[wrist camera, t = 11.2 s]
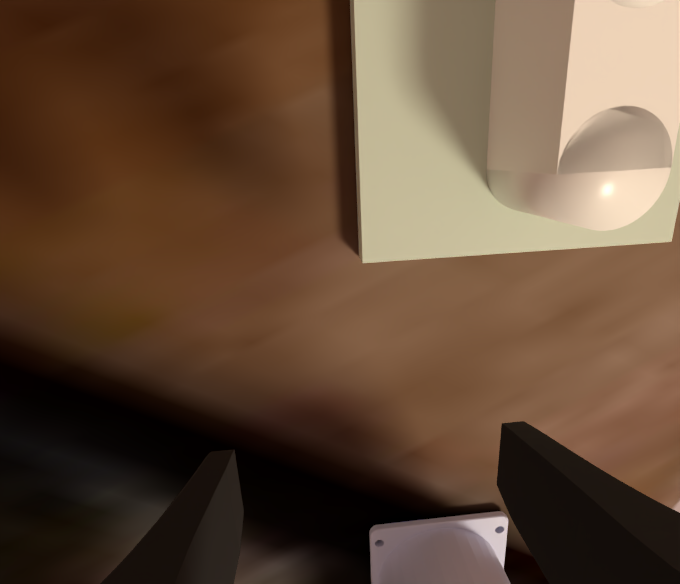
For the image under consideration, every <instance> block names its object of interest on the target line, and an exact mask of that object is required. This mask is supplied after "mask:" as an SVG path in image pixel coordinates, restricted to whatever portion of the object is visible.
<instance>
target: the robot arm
mask: <svg viewBox="0 0 680 584" xmlns="http://www.w3.org/2000/svg"><path fill="white" fill-rule="evenodd" d="M497 486H498V488H499V491H500V493H501V495H502V498H503V500H504V503H505V505H506V507H507V509H508V511H509V514H510V516H511V518H512V520H513V522H514V524H515V526H516V528H517V529H518V531H519V533H520V534H521V536H522V538H523V540H524V541H525V543H526V545H527V546H528V548H529V550H530V552H531V553H532V555H533V557H534V558H535V560H536V562H537V563H538V565H539V567H540V568H541V570H542V572H543V574H544V575H545V577H546V579H547V580H548V582H549V584H680V513H679V512H677V511H675V510H673V509H671V508H669V507H667V506H665V505H663V504H661V503H659V502H657V501H655V500H653V499H651V498H650V497H648V496H646V495H644V494H642V493H641V492H639V491H637V490H635V489H634V488H632V487H630V486H628V485H626V484H625V483H623V482H621V481H619V480H618V479H616V478H614V477H613V476H611V475H609V474H608V473H606V472H604V471H603V470H601V469H599V468H598V467H596V466H594V465H593V464H591V463H589V462H588V461H586V460H585V459H583V458H581V457H580V456H578V455H577V454H575V453H574V452H572V451H570V450H569V449H567V448H566V447H564V446H563V445H561V444H559V443H558V442H556V441H555V440H553V439H552V438H550V437H549V436H547V435H545V434H544V433H542V432H541V431H539V430H537V429H536V428H534V427H532V426H531V425H529V424H527V423H526V422H524V421H522V422H512V423H502V428H501V440H500V452H499V464H498V476H497ZM243 515H244V509H243V503H242V496H241V490H240V483H239V477H238V470H237V464H236V457H235V450H234V449H233V450H223V451H213V452H210V453H209V454H208V455H207V456H206V458H205V459H204V461H203V462H202V463H201V465H200V466H199V467H198V469H197V470H196V472H195V473H194V474H193V476H192V477H191V478H190V480H189V481H188V482H187V484H186V485H185V486H184V488H183V489H182V490H181V492H180V493H179V494H178V496H177V497H176V498H175V499H174V501H173V502H172V503H171V505H170V506H169V507H168V508H167V510H166V511H165V512H164V513H163V515H162V516H161V517H160V518H159V520H158V521H157V522H156V523H155V524H154V526H153V527H152V528H151V529H150V530H149V531H148V533H147V534H146V535H145V536H144V537H143V538H142V539H141V541H140V542H139V543H138V544H137V545H136V546H135V548H134V549H133V550H132V551H131V552H130V553H129V554H128V555H127V556H126V558H125V559H124V560H123V561H122V562H121V563H120V564H119V565H118V566H117V567H116V568H115V569H114V570H113V571H112V572H111V573H110V574H109V575H108V576H107V577H106V578H105V579H104V580H103V581H102V582H101V584H234V579H235V574H236V569H237V564H238V559H239V554H240V546H241V537H242V526H243ZM507 529H508V518H507V516H506V515H505V513H504V512H501V511H496V512H487V513H478V514H469V515H460V516H451V517H442V518H433V519H424V520H415V521H406V522H397V523H388V524H379V525H375V526H373V527H372V528H371V529H370V532H369V537H370V565H371V584H510V582H509V580H508V578H507V575H506V573H505V571H504V560H505V550H506V540H507ZM377 540H380V541H377Z"/></svg>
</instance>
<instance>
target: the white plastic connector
mask: <svg viewBox="0 0 680 584" xmlns="http://www.w3.org/2000/svg"><path fill="white" fill-rule="evenodd" d="M679 123H680V0H496V2H495V20H494V39H493V58H492V76H491V95H490V113H489V132H488V151H487V182H488V185H489V188H490V190H491V192H492V194H493V196H494V197H495V198H496V199H497V201H499V202H500V203H501V204H502V205H504V206H505V207H508V208H510V209H513V210H517V211H520V212H524V213H528V214H532V215H536V216H540V217H544V218H548V219H552V220H556V221H559V222H563V223H567V224H571V225H575V226H579V227H583V228H587V229H591V230H597V231H608V230H614V229H618V228H621V227H624V226H626V225H628V224H630V223H632V222H634V221H635V220H637V219H638V218H640V217H641V216H642V215H643V214H645V213H646V212H647V211H648V210H649V209H650V208H651V207H652V206H653V205H654V203H655V202H656V201H657V199H658V198H659V196H660V195H661V193H662V192H663V190H664V188H665V185H666V183H667V181H668V178H669V175H670V171H671V166H672V161H673V156H674V150H675V145H676V139H677V134H678V129H679Z"/></svg>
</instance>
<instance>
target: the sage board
mask: <svg viewBox="0 0 680 584" xmlns="http://www.w3.org/2000/svg"><path fill="white" fill-rule="evenodd" d="M495 2H496V0H350V19H351V47H352V75H353V103H354V131H355V159H356V187H357V215H358V243H359V258H360V259H361V261H362V263H371V262H386V261H400V260H415V259H429V258H444V257H458V256H472V255H487V254H501V253H516V252H530V251H545V250H559V249H574V248H588V247H603V246H617V245H631V244H646V243H660V242H671V241H672V236H673V231H674V226H675V221H676V216H677V211H678V206H679V201H680V123H679V129H678V134H677V139H676V145H675V150H674V156H673V161H672V166H671V171H670V175H669V178H668V181H667V183H666V185H665V188H664V190H663V192H662V193H661V195H660V196H659V198H658V199H657V201H656V202H655V203H654V205H653V206H652V207H651V208H650V209H649V210H648V211H647V212H646V213H645V214H643V215H642V216H641V217H640V218H638V219H637V220H635V221H634V222H632V223H630V224H628V225H626V226H624V227H621V228H618V229H614V230H608V231H597V230H591V229H587V228H583V227H579V226H575V225H571V224H567V223H563V222H559V221H556V220H552V219H548V218H544V217H540V216H536V215H532V214H528V213H524V212H520V211H517V210H513V209H510V208H508V207H505V206H504V205H502V204H501V203H500V202H499V201H497V199H496V198H495V197H494V196H493V194H492V192H491V190H490V188H489V185H488V182H487V151H488V132H489V113H490V95H491V76H492V58H493V39H494V20H495Z"/></svg>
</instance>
